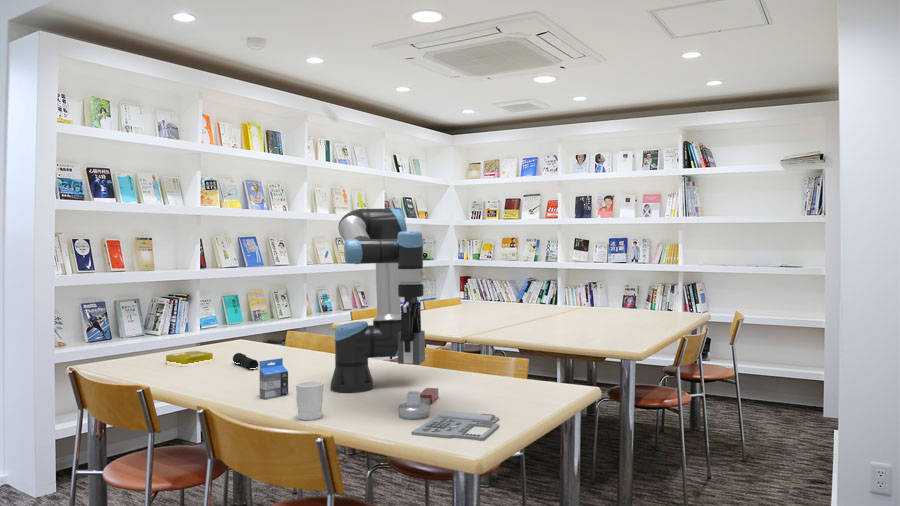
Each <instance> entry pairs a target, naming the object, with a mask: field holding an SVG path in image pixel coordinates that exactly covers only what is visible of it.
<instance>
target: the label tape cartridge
mask: <svg viewBox="0 0 900 506" xmlns="http://www.w3.org/2000/svg"><path fill="white" fill-rule="evenodd" d="M283 360H284V359H283V358H282V357H281V358H275V359H266V360H260V361H258V364H259V398H260V399H263V400H267V399H268V398H269V399H273V397H274V398H279V397H284V396H283V395H285V396H289V370H288V369H287V368H286V367H285V366H284V364H283V362H284V361H283ZM271 363H272V364H271ZM278 396H279V397H278Z"/></svg>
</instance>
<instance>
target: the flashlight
mask: <svg viewBox="0 0 900 506" xmlns="http://www.w3.org/2000/svg"><path fill="white" fill-rule="evenodd" d="M233 361H234V362H236V363H240V364H242V365H241V366H243V365H244V366H243V367H245V366H246V367H245V368H247V367H249V368H248V369H250V368H256V367H257V369H258V368H259V366H260V364H259V361H258V360H256V359H253V358H250V357H248V356H247V355H246V354H244V353H241V352H236V353H235V354H234V355H233V357H232V362H233ZM234 362H233V363H234Z"/></svg>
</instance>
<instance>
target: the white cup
mask: <svg viewBox="0 0 900 506" xmlns="http://www.w3.org/2000/svg"><path fill="white" fill-rule="evenodd" d="M295 392H296V404H297V405H296V407H297V416H298V417H297V418H298V419H299V420H301V421H315V420H319V419H321V418H322V416H323V404H324V403H323V402H324V400H323V399H324V382H323V381H317V380H306V381H301V382H297V383H296V384H295Z"/></svg>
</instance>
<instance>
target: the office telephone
mask: <svg viewBox="0 0 900 506" xmlns="http://www.w3.org/2000/svg"><path fill="white" fill-rule="evenodd" d="M499 420H500V416H499V417H498V416H496V415H495V414H489V413H479V412H478V413H477V412H465V411H453V410H443V411H441V413H440V414H439V415H437V416H436V417H434V418H432V419H430V420H429V421H427V422H426V423H423V424H422V425H420V426H419V427H417V428H415V429H414V430H412V431H411V432H410V433H411V435H412V436H419V437H431V438H439V439H460V440H461V439H463V440H472V441H473V440H474V441H479V442H484V441H485V440H486V439H487V438H489V437H490V436H491V435H492V434H493V433H494V432H495V431H497V430H498V429H499V427H500V424H499V423H498V422H499ZM474 427H478V428H485V429H486V428H488V429H487V430H486V431H485V432H484V433H482V434H475V433H474V434H473V433H468V432H469V431H470V430H471V429H472V428H474Z"/></svg>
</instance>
